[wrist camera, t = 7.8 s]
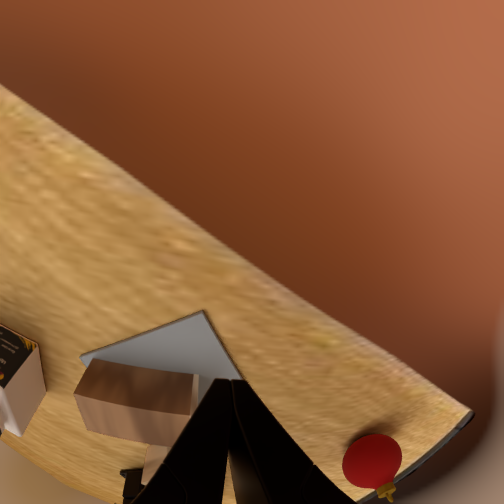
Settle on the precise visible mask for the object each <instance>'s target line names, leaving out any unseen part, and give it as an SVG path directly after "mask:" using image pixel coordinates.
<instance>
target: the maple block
mask: <svg viewBox="0 0 504 504" xmlns="http://www.w3.org/2000/svg"><path fill="white" fill-rule="evenodd" d="M171 448H172V447H166V446H159V445H153V444H152V445H150V446H149V447H147V452H146V457H145V463H144V469H143V475H142V481H141V484H143V485H145V486H146V485H147V483H148V482H149V480H150V479H151V478H152V476H153V475H154V473H155V472H156V470H157V469H158V467H159V466H160V464H161V463H163V460H164V458H165V457H166V455H167V454H168V452H169V451H170V449H171Z"/></svg>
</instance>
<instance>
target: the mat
mask: <svg viewBox="0 0 504 504" xmlns="http://www.w3.org/2000/svg"><path fill="white" fill-rule="evenodd" d="M79 358H80V359H81V361H82V362H83V363H84V365H85V366H86V367H88V365H89V364H90V362H91V360H92V358H95V359H100V360H105V361H110V362H115V363H120V364H125V365H131V366H137V367H143V368H150V369H156V370H164V371H171V372H180V373H189V374H199V383H198V404H199V403H200V401H201V399H202V398H203V396H204V395H205V393H206V391H207V390H208V388H209V386H210V385H211V383H212V381H213V380H214V379H215V378H226V379H229V380H231V379H243V378H242V377H241V375H240V374H239V372H238V370H237V369H236V367H235V365H234V364H233V362H232V361H231V359H230V357H229V356H228V354H227V352H226V350H225V349H224V347H223V345H222V344H221V342H220V340H219V339H218V337H217V335H216V333H215V332H214V330H213V328H212V326H211V325H210V323H209V321H208V319H207V318H206V316H205V314H204V312H203V310H202V311H200V312H197V313H195V314H192V315H189V316H187V317H184V318H182V319H179V320H176V321H174V322H171V323H168V324H166V325H163V326H160V327H158V328H155V329H152V330H150V331H147V332H144V333H142V334H139V335H136V336H133V337H131V338H128V339H125V340H122V341H120V342H117V343H114V344H111V345H108V346H105V347H103V348H100V349H97V350H94V351H91V352H88V353H85V354H82V355H81V356H80V357H79Z"/></svg>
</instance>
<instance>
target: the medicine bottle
mask: <svg viewBox="0 0 504 504" xmlns="http://www.w3.org/2000/svg"><path fill="white" fill-rule="evenodd" d="M45 395H46V388H45V384H44V378H43V373H42V367H41V361H40V354H39V347H38V344H37V343H35V342H33V341H31V340H29V339H27V338H25V337H23V336H21V335H19V334H17V333H15V332H14V331H12V330H10V329H8V328H6V327H4V326H3V325H1V324H0V436H1V434H2V432H3V431H4V429H7V430H8V431H10V432H12V433H13V434H15V435H17V436H19V437H21V436H22V435H23V433H24V432H25V430H26V428H27V426H28V424H29V422H30V421H31V419H32V417H33V415H34V413H35V412H36V410H37V408H38V406H39V405H40V403H41V401H42V400H43V398H44V396H45Z"/></svg>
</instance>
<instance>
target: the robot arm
mask: <svg viewBox="0 0 504 504" xmlns="http://www.w3.org/2000/svg"><path fill="white" fill-rule="evenodd" d="M227 457H229V463H230V469H231V475H232V481H233V486H234V491H235V497H236V502H237V504H358V503H356V502H355V501H354V500H352V499H351V498H350V497H349V496H347V495H346V494H345V493H344V492H343V491H341V490H340V489H339V488H338V487H337V486H336V485H335V484H334V483H333V482H332V481H331V480H330V479H329V478H328V477H327V476H326V475H325V474H324V473H323V472H322V471H321V470H320V469H319V468H318V467H317V466H316V465H313V464H314V463H313V461H312V460H311V459H310V458H309V457H308V456H307V455H306V454H305V452H304V451H303V450H302V449H301V448H300V447H299V446H298V444H297V443H296V442H295V441H294V440H293V439H292V437H291V436H290V435H289V434H288V433H287V431H286V430H285V429H284V428H283V427H282V425H281V424H280V423H279V422H278V421H277V419H276V418H275V417H274V416H273V414H272V413H271V412H270V411H269V409H268V408H267V407H266V406H265V404H264V403H263V402H262V401H261V399H260V398H259V397H258V395H257V394H256V393H255V392H254V390H253V389H252V388H251V386H250V385H249V384H248V382H247V381H246V380H244V379H231V380H229V379H226V378H215V379H214V380H213V381H212V383H211V385H210V386H209V388H208V390H207V391H206V393H205V395H204V396H203V398H202V399H201V401H200V403H199V404H198V406H197V408H196V409H195V411H194V412H193V414H192V416H191V417H190V419H189V421H188V422H187V424H186V425H185V427H184V429H183V430H182V432H181V433H180V435H179V437H178V438H177V440H176V441H175V443H174V444H173V446H172V448H171V449H170V451H169V452H168V454H167V455H166V457H165V458H164V460H163V463H161V464H160V466H159V467H158V469H157V470H156V472H155V473H154V475H153V476H152V478H151V479H150V480H149V482H148V483H147V485H146V486H145V485H143V484H141V481H142V475H143V470H129V471H120V475H121V476H123V477H124V478H126V480H125V485H124V490H123V495H122V496H123V497H124V499H123V504H222V498H223V490H224V482H225V474H226V466H227ZM114 504H115V503H114Z"/></svg>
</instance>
